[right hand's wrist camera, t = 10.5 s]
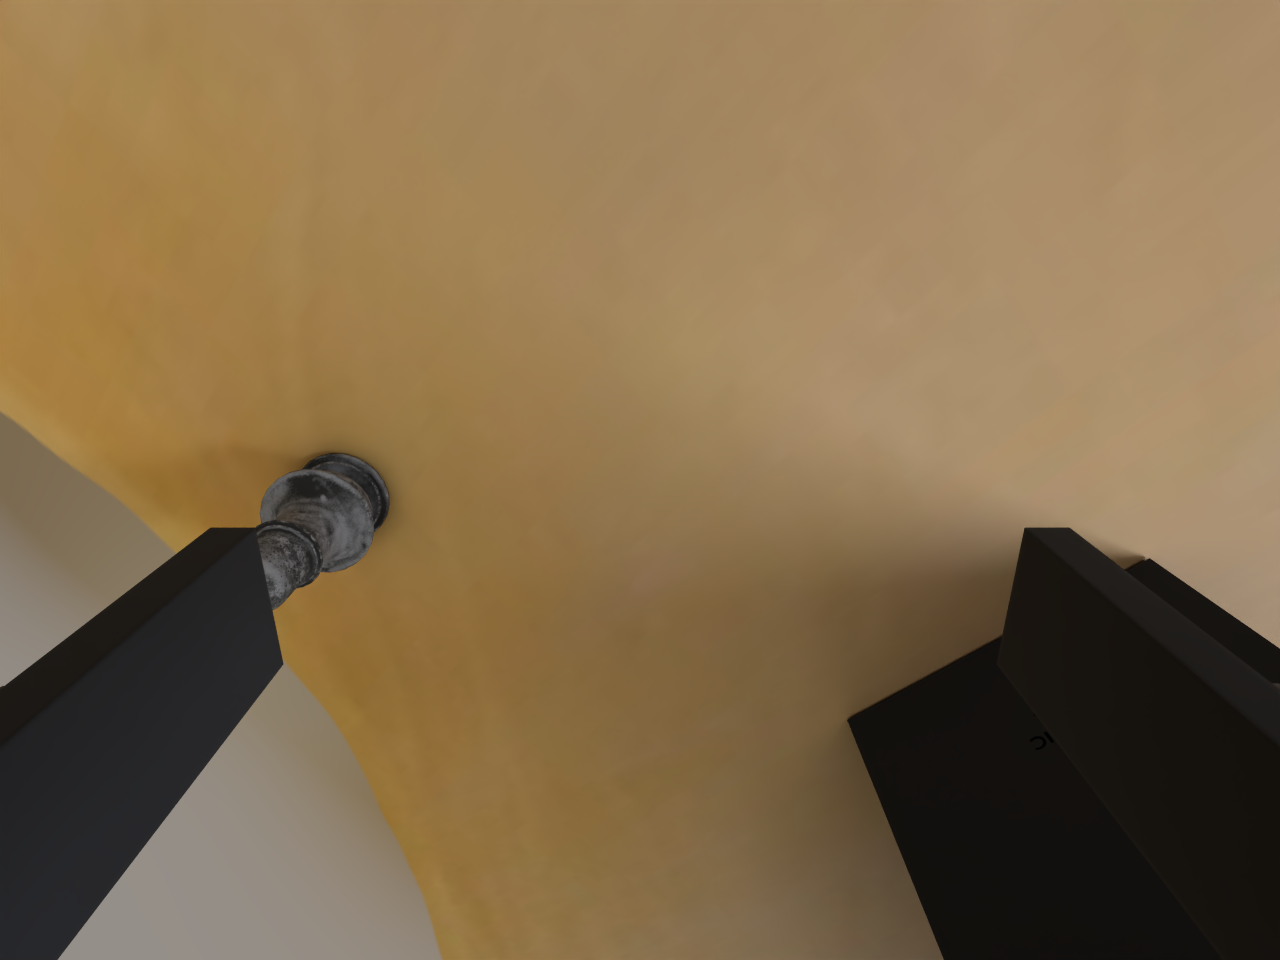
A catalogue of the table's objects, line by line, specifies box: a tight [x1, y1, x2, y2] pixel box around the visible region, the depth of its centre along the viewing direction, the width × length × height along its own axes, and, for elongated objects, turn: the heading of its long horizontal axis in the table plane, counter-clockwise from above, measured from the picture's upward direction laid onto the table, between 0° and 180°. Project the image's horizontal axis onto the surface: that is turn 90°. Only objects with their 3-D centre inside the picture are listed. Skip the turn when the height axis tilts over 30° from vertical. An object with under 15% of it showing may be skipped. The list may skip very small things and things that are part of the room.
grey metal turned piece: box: [256, 453, 389, 610], centre depth 36 cm, size 6×6×12 cm
